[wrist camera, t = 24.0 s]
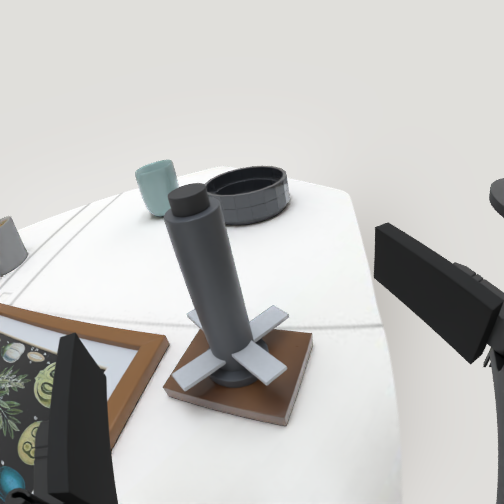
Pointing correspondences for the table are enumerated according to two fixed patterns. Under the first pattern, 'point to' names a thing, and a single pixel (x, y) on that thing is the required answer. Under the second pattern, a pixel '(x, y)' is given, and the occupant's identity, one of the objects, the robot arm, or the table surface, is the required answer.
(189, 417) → the table surface
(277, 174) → the processor bowl
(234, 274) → the blade
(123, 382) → the wall art
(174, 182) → the cup
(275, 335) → the board
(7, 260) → the coffee mug
